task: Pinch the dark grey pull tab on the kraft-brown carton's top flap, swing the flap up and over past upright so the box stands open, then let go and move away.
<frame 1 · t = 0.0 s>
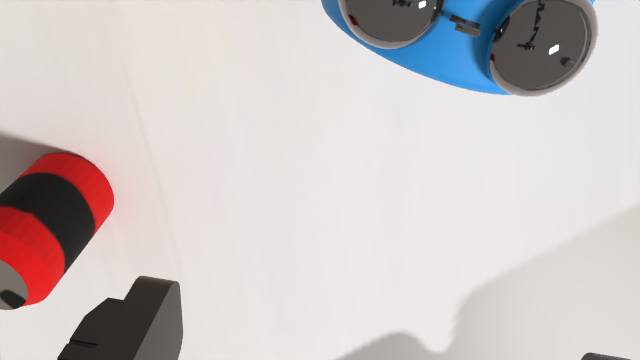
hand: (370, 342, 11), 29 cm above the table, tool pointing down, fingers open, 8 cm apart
soda can: (76, 186, 48), on the table
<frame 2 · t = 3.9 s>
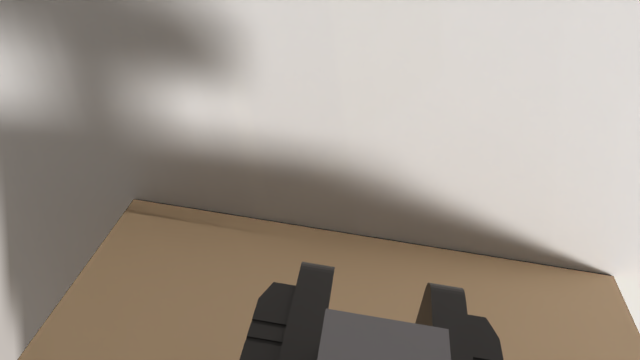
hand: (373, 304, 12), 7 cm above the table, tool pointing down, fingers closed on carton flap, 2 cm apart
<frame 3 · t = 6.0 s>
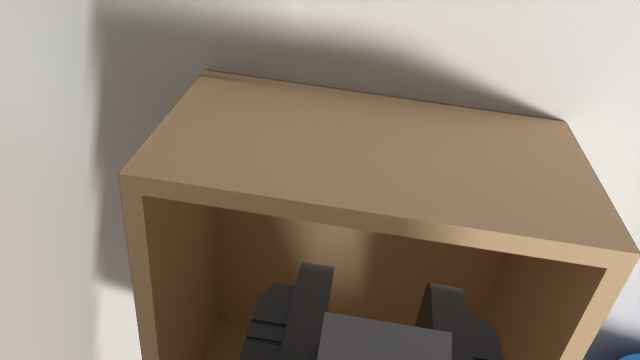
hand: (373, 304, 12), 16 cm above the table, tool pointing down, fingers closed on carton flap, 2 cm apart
carton: (357, 236, 32), on the table
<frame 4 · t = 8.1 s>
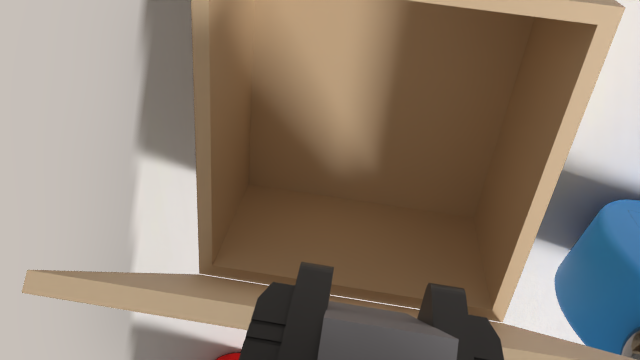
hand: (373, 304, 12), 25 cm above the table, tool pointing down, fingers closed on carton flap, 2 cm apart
carton: (377, 91, 35), on the table
alarm clock: (637, 232, 39), on the table
carton flap: (354, 319, 20), point 19 cm above the table, hinge at 48.0°, touching gripper
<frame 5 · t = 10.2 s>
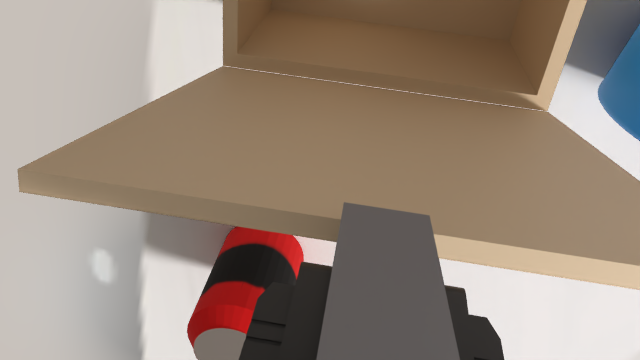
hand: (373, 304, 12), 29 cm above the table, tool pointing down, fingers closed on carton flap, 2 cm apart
soda can: (264, 249, 51), on the table
carton flap: (381, 159, 18), point 22 cm above the table, hinge at 77.1°, touching gripper
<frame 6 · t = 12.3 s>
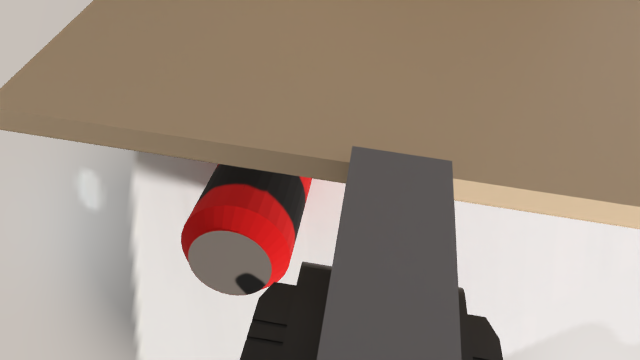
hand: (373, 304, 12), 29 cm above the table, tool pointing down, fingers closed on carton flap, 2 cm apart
soda can: (269, 166, 46), on the table
carton flap: (405, 40, 16), point 22 cm above the table, hinge at 99.1°, touching gripper
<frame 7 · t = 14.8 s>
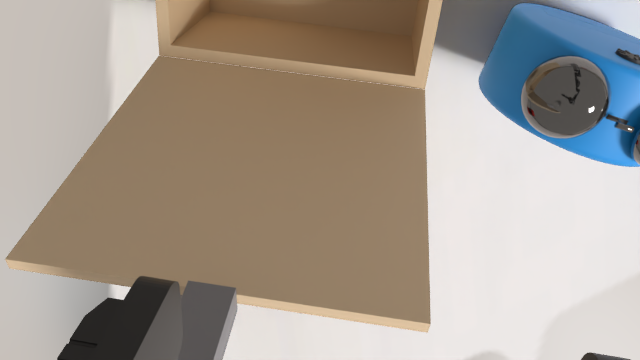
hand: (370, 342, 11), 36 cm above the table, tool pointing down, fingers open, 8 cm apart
alarm clock: (559, 48, 43), on the table
carton flap: (247, 197, 27), point 22 cm above the table, hinge at 99.5°
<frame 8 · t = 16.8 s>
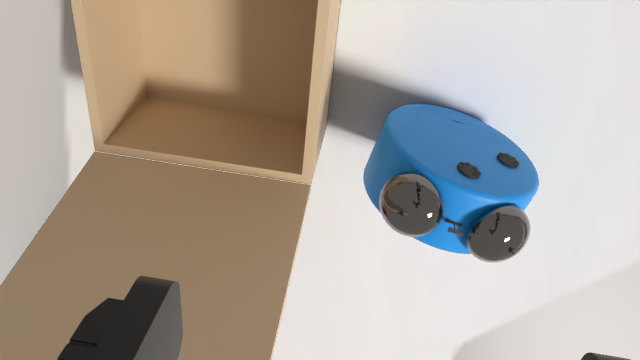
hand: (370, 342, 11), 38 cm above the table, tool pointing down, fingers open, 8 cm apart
carton: (234, 20, 47), on the table
alarm clock: (443, 133, 50), on the table
carton flap: (145, 294, 35), point 22 cm above the table, hinge at 99.5°
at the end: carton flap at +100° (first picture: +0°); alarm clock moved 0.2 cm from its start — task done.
